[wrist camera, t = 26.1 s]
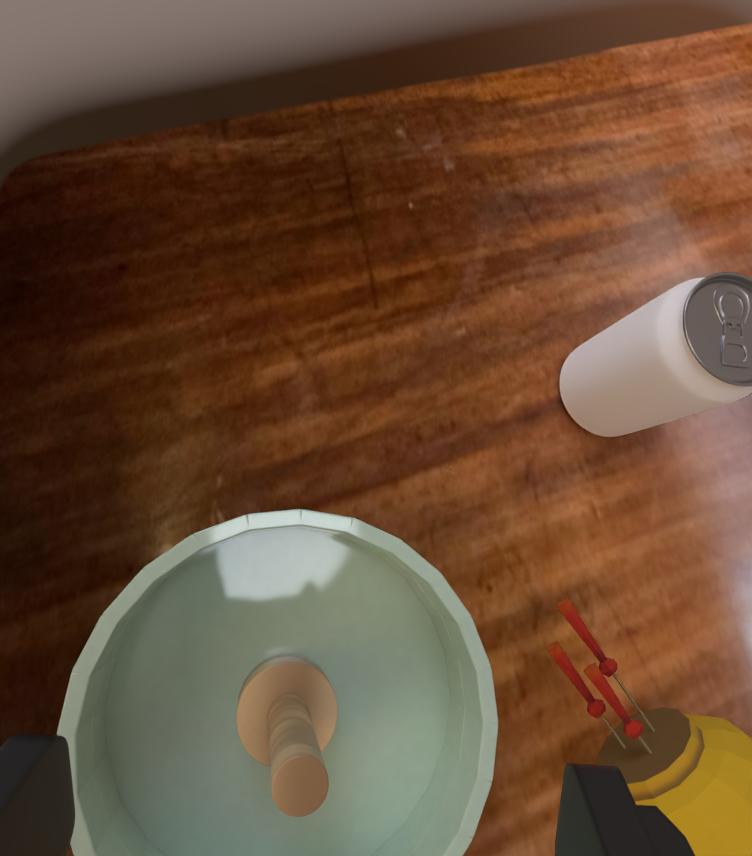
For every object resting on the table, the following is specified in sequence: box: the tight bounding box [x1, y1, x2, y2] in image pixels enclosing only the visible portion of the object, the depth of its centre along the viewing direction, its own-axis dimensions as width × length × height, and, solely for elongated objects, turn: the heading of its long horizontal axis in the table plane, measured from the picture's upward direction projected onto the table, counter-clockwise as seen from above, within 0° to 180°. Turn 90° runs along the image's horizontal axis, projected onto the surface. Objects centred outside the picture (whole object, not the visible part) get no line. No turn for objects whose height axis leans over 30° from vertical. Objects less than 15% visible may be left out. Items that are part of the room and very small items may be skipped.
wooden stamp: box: [236, 654, 338, 817], centre depth 28 cm, size 5×5×12 cm
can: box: [559, 272, 752, 437], centre depth 35 cm, size 6×6×12 cm
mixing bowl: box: [57, 509, 498, 856], centre depth 31 cm, size 20×20×6 cm
